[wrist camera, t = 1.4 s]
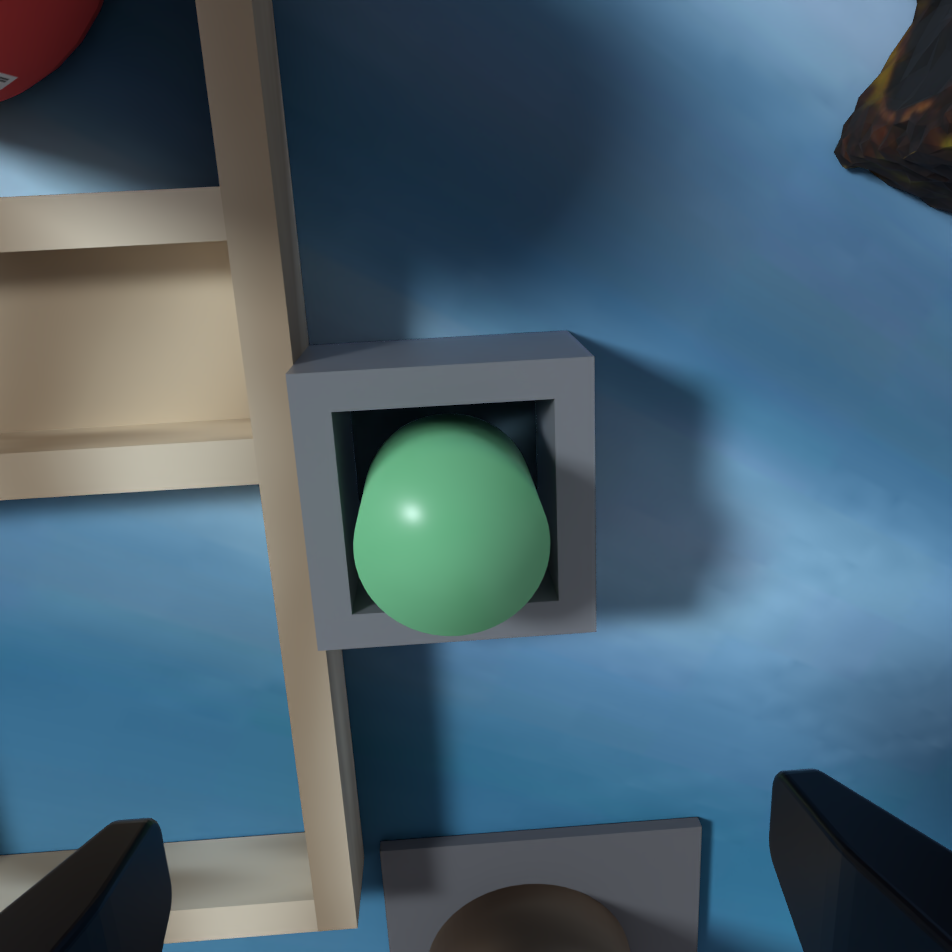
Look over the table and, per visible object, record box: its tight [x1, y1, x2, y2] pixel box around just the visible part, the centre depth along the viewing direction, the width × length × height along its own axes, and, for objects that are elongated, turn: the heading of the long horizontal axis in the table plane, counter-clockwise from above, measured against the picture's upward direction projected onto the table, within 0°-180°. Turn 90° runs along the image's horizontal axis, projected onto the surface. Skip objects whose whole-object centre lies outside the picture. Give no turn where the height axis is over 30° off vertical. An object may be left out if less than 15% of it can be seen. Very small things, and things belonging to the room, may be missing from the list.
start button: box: [353, 413, 550, 636], centre depth 17 cm, size 4×4×3 cm
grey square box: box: [285, 331, 596, 651], centre depth 19 cm, size 6×6×4 cm
